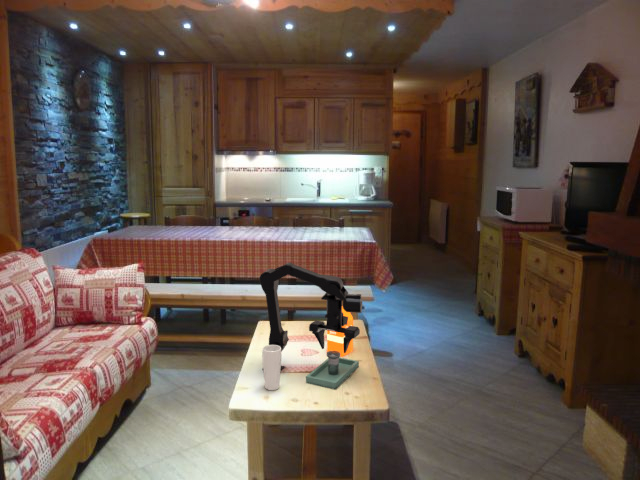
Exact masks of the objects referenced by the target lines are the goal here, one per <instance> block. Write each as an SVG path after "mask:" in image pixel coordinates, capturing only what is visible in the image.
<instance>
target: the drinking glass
mask: <svg viewBox="0 0 640 480" xmlns="http://www.w3.org/2000/svg"><path fill="white" fill-rule="evenodd" d="M261 352H262V355H261V356H262V357H261V358H262V369H263V370H264V371H263V370H262V371H263V377H264V388H265V389H266V390H268V391H276V390H278V389H279V388H280V387H281V386H280V382H281V371H282V370H281V366H282V352H281V347H280V346H278V345H269V344H268V345H265V346H263V347H262V351H261Z"/></svg>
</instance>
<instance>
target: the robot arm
mask: <svg viewBox="0 0 640 480" xmlns="http://www.w3.org/2000/svg"><path fill="white" fill-rule="evenodd" d="M286 276H291V277H293V278H295V279H297V280H301V281H303V282H306V283H309V284H311V285H314V286H316V287H318V288H319V289H320V290H321V291H323V292H324V294H323V295H322V296H321V301H326V314H325V315H324V317H325V318H326V324H325V321H323V320H316V319H315V320H314V321H312V322H311V323H310V324H309V326H308V331H309V332H311V333H312V334H313V335H314V336H315V338H316V339H317V342H318V343H319V345H320V348H321V349H322V350H324V349H325V333H326V332H325V331H327V330H328V331H334V332H340V333H344V335H345V337H344V338H343V341H344V353H346V351H347V349H348V346H349V343H350V341H351V340H352V339H353V340H354V339H356V338H357V336H359V335H360V334H361V333H360V332H361V330H360V328H359V327H358V326H354V325H353V326H349V327H347V328H342V326H344V325H347V322H348V317H346V316H343V312H342V306H343V309H344V311H346V312H350V313H355V314H361V313H362V311H363V299H362V294H360V293H355V294H354V293H353V294H352V293H351V294H350V293H349V291H348V290H347V288H346V287H345V286H344V282H343V280H342V278H340V277H339V276H335V275H327V274H326V275H325V274H321V273H317V272H315V271H314V270H313V271H312V270H309V269H307V268H305V267H301V266H300V265H299V266H298V265H296V264H294V263H292V262H286V263H285V264H283V265H281V266H278V267H276V268H268V269H266V270H265V271H264V272H262V273H261V274H260V275H259V283H260V286H261V289H262V291H263V293H264V294H265V300H266V307H267V314H268V315H267V316H268V322H269V329H270V331H269V336H268V345H278V346H280V347H281V353H282V352H283V350H284V349H285V347H286V346H287V345H288V341H290V338H289V336H288V333H289V332H288V330H284V329H283V326H282V319H281V313H280V311H281V309H280V303H279V296H278V289H279V281H280V279H282V278H284V277H286ZM284 368H285V366H284V365H281V370H280V371H282V370H283V369H284ZM262 371H263V372H264V370H263V368H262Z"/></svg>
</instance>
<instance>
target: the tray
mask: <svg viewBox="0 0 640 480" xmlns="http://www.w3.org/2000/svg"><path fill="white" fill-rule="evenodd" d="M359 364H360V361H359V360H355V359H350V358H344V357H339V374H338V375H329V374H328V358H327V359H326V360H324V361H323V362H321V364H319V365H318V366H316V368H315V369H313V370H312V371H311V372H310V373H309V374H307V375H306V376H305V383H306V384H309V385H313V386H319V387H323V388H327V389H332V390H337V389H338V388H339V387H340V386H341V385H342V384H343V383H344V382H345V381H346V380H348V378H349V377H350V376H351V375H352V374H353V373H354V372H356V370H357V369H358V368H359V367H360V365H359Z"/></svg>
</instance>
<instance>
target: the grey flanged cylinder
mask: <svg viewBox="0 0 640 480" xmlns="http://www.w3.org/2000/svg"><path fill="white" fill-rule="evenodd" d="M326 357H327V359H328V374H329V375H338V374H339V357H340V352H339V351H328V352H327V351H326ZM340 358H341V357H340Z"/></svg>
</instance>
